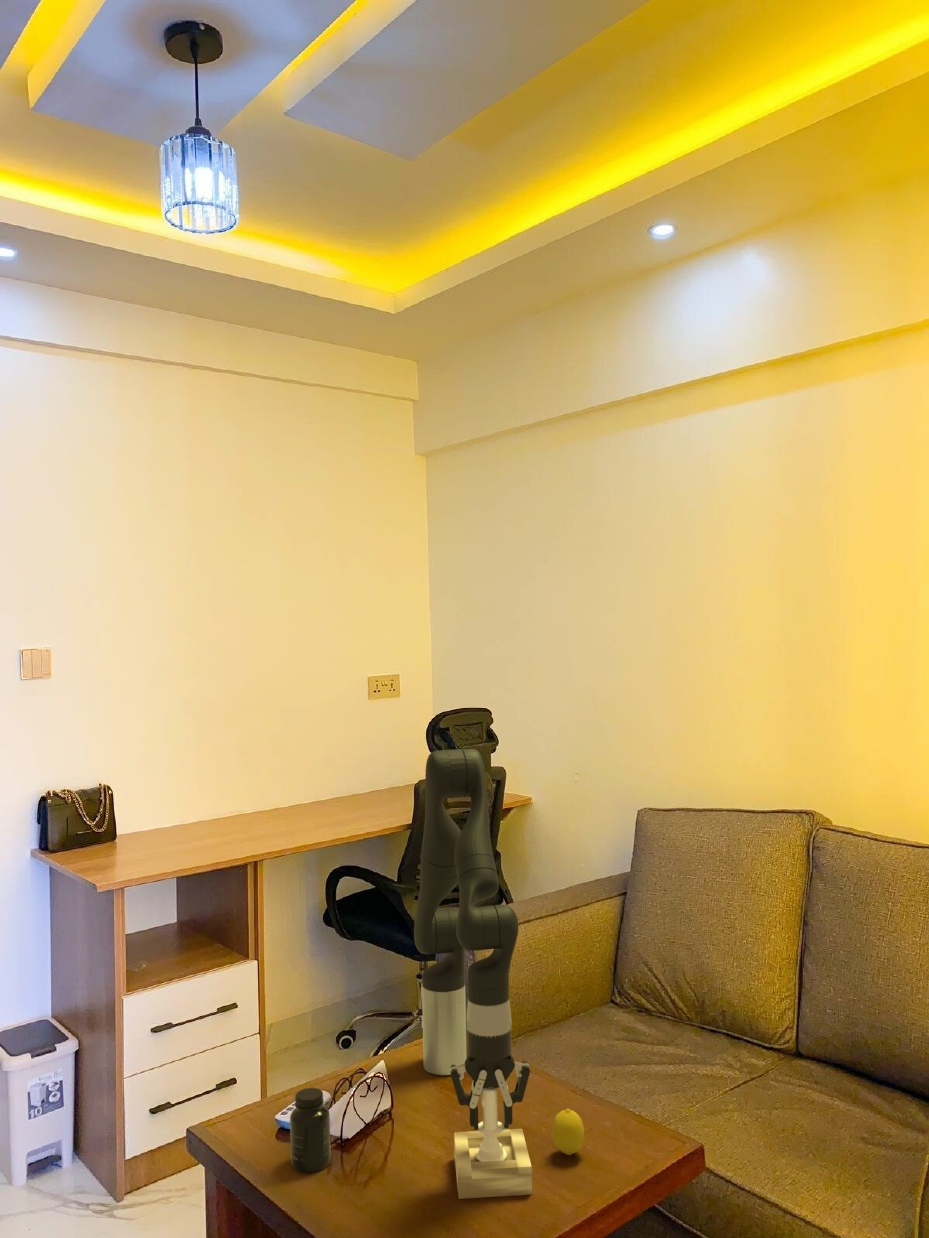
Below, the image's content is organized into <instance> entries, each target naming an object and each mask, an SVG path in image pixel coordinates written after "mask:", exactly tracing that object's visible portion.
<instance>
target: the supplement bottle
mask: <svg viewBox="0 0 929 1238" xmlns="http://www.w3.org/2000/svg"><path fill="white" fill-rule="evenodd" d="M294 1096H295V1097H294V1108H293V1110H292V1111H291V1113H290V1116H289V1127H290V1128H289V1130H290V1131H289V1132H290V1159H291V1166H292V1167H293V1168H294V1170H295V1171H296V1172H300V1173H303V1174H310V1173H316V1172H319V1171H321V1170H323V1169H325V1168H326V1167H327V1166H328V1165H329V1163H330V1162H331V1157H332V1156H331V1155H332V1154H331V1149H332V1148H331V1126H330V1125H331V1124H330V1123H331V1121H330V1119H331V1118H330V1111H329V1109H328V1107H327V1106H326V1105H325V1104H324V1101H325V1100H324V1092H323V1090H322V1089H320V1088H317V1087H305V1088H303V1089H300V1090H298V1091H297V1092H296V1094H295V1095H294Z"/></svg>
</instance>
